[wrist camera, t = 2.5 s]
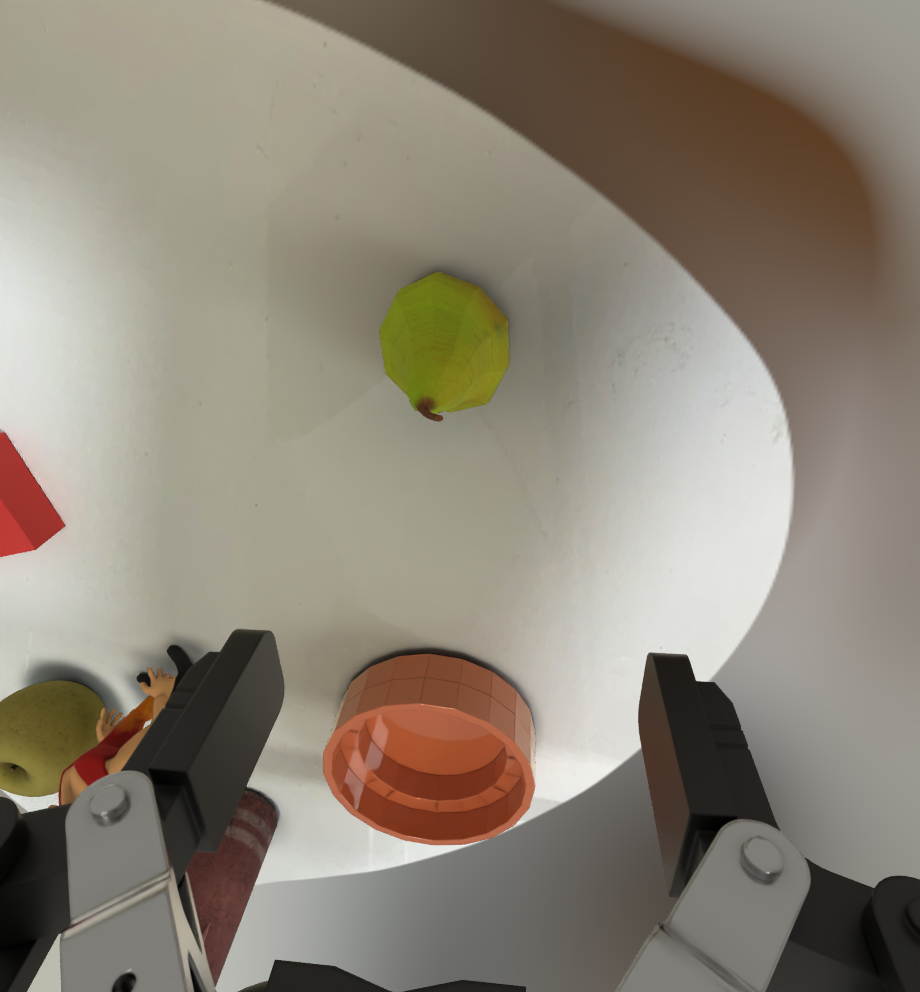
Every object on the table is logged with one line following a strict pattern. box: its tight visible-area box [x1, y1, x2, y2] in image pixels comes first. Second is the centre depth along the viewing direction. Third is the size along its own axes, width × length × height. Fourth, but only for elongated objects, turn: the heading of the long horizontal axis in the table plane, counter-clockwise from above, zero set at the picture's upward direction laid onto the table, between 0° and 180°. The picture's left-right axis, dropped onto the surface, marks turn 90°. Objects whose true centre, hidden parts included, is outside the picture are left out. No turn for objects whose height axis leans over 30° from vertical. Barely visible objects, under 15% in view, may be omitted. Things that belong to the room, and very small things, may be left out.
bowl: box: [323, 654, 535, 845], centre depth 44 cm, size 14×14×5 cm
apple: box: [0, 680, 108, 797], centre depth 46 cm, size 8×8×7 cm
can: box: [186, 789, 278, 987], centre depth 48 cm, size 6×6×14 cm
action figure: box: [48, 646, 192, 808], centre depth 40 cm, size 10×4×15 cm, turn 134°
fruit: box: [380, 272, 509, 421], centre depth 27 cm, size 6×6×12 cm
